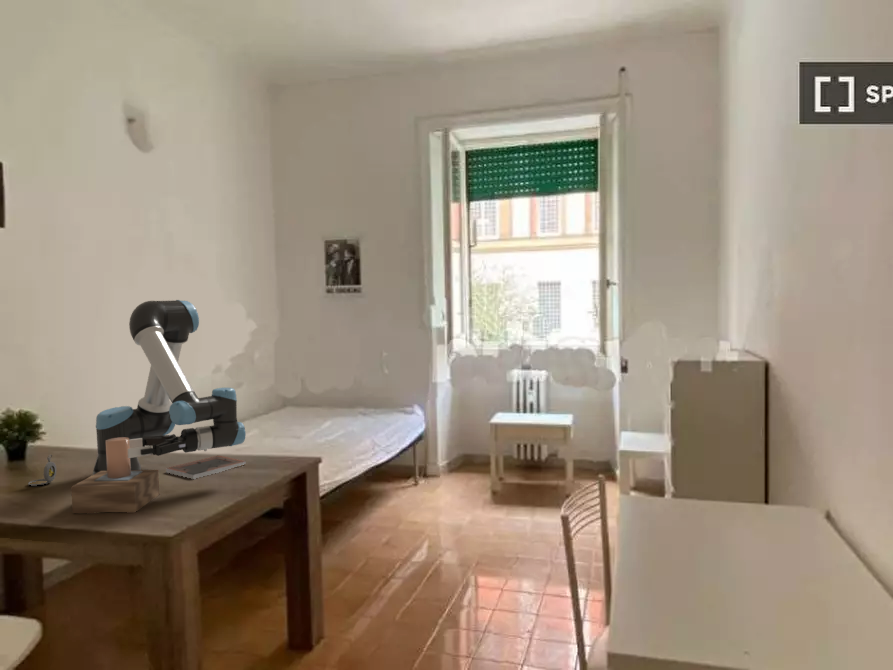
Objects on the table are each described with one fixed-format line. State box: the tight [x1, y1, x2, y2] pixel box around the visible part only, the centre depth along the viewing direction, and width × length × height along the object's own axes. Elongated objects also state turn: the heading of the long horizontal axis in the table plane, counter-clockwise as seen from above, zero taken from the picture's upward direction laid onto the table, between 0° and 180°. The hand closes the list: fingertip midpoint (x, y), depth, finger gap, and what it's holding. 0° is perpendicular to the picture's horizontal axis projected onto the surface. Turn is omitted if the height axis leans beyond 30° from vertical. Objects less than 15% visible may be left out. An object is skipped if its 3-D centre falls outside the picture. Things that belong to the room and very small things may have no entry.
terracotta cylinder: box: [106, 437, 131, 478], centre depth 199 cm, size 6×6×11 cm
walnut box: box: [70, 469, 160, 514], centre depth 198 cm, size 17×18×8 cm
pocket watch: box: [27, 454, 58, 487], centre depth 220 cm, size 8×8×10 cm
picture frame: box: [165, 455, 247, 480], centre depth 237 cm, size 16×2×22 cm
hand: (123, 449), depth 199 cm, fingers open, 13 cm apart
